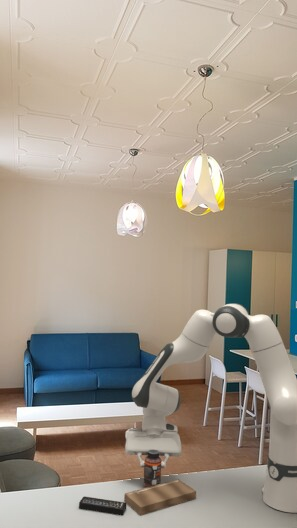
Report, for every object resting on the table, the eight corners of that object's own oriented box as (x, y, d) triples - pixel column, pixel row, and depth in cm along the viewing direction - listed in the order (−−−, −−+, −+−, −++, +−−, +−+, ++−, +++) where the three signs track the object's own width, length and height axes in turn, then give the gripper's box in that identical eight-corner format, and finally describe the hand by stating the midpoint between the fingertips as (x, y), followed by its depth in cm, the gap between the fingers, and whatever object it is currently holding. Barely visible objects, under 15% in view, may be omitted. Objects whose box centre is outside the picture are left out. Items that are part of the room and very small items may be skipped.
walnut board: (178, 486, 159) (178, 478, 159) (196, 498, 151) (196, 490, 151) (124, 501, 147) (124, 493, 148) (140, 515, 139) (140, 507, 139)
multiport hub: (83, 503, 146) (83, 496, 146) (126, 509, 143) (126, 502, 143) (78, 510, 142) (78, 502, 142) (122, 517, 139) (123, 509, 139)
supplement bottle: (158, 489, 154) (160, 455, 154) (141, 486, 156) (143, 453, 156) (161, 481, 160) (163, 449, 160) (145, 479, 161) (146, 447, 162)
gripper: (125, 424, 165) (122, 462, 155) (181, 426, 165) (182, 464, 155) (125, 432, 169) (123, 469, 160) (180, 434, 169) (180, 472, 159)
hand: (152, 467), depth 157 cm, fingers closed on supplement bottle, 6 cm apart
